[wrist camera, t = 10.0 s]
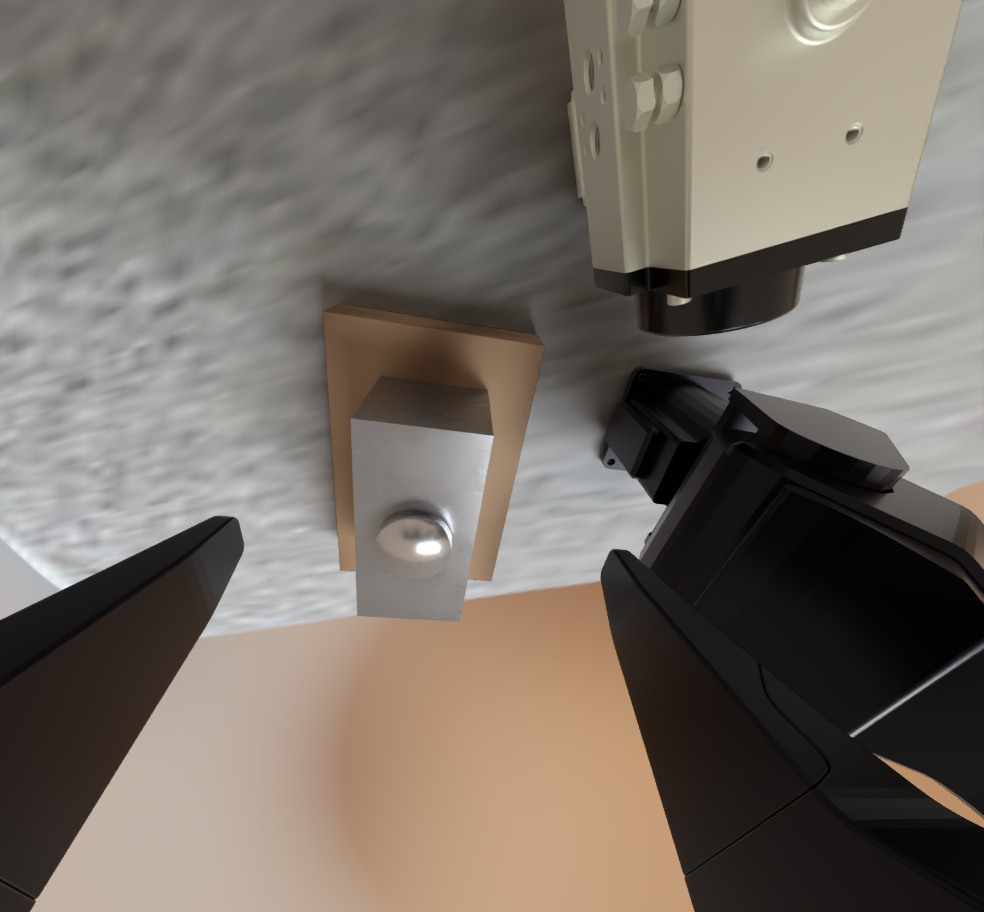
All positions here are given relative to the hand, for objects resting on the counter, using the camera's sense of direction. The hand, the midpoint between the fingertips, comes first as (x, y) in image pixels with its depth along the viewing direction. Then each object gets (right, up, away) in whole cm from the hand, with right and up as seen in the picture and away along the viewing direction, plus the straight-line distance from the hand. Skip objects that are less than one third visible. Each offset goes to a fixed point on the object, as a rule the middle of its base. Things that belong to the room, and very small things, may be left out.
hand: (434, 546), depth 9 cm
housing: (-2, +1, +11) cm, 12 cm away
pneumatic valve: (+6, +15, +7) cm, 18 cm away
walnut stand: (-2, +2, +14) cm, 14 cm away
